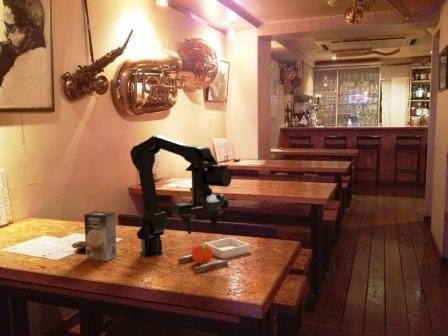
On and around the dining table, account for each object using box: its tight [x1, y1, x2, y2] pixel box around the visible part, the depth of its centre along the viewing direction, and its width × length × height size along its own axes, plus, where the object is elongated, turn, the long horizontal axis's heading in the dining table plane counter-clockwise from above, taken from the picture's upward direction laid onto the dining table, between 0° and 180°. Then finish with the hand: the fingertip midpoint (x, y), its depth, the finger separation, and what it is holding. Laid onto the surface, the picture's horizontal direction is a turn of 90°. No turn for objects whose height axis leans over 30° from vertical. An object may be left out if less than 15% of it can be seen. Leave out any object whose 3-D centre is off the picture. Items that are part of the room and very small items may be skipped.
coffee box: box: [83, 210, 118, 262], centre depth 142 cm, size 9×6×16 cm
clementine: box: [191, 242, 213, 265], centre depth 134 cm, size 8×7×7 cm
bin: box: [205, 237, 251, 260], centre depth 147 cm, size 12×12×3 cm
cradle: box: [177, 254, 228, 274], centre depth 134 cm, size 12×12×2 cm
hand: (201, 231), depth 133 cm, fingers open, 9 cm apart
